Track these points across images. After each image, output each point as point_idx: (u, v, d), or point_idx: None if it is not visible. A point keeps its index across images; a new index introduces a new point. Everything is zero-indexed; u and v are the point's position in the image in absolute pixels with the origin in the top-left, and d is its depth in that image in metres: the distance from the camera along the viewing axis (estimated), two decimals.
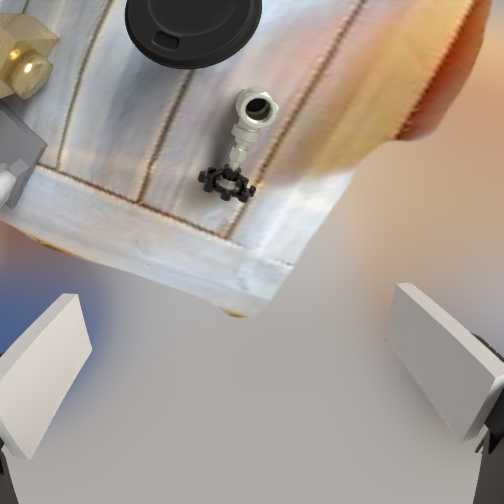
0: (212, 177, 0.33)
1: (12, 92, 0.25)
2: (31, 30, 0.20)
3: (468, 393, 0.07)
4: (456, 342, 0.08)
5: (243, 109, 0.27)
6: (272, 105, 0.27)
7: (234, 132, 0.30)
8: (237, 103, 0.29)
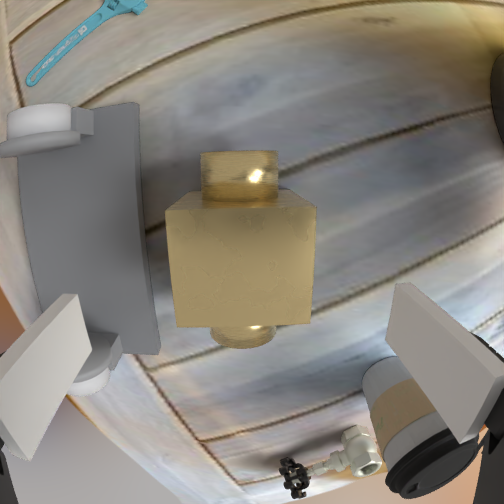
0: (293, 478, 0.31)
1: None
2: None
3: (468, 393, 0.07)
4: (456, 342, 0.08)
5: (362, 467, 0.28)
6: (376, 469, 0.28)
7: (334, 462, 0.31)
8: (355, 450, 0.30)
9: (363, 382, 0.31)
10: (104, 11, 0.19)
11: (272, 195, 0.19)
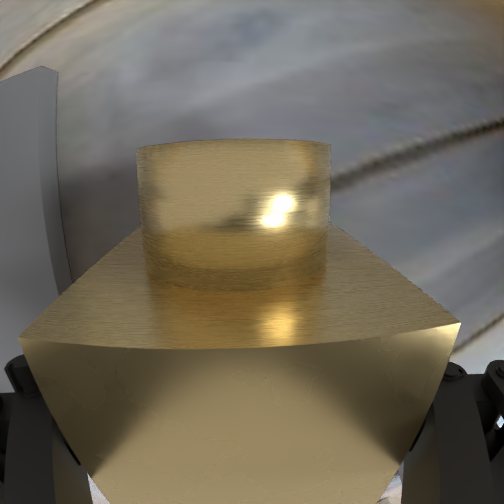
0: None
1: None
2: None
3: None
4: None
5: None
6: None
7: None
8: None
9: (401, 466, 0.19)
10: None
11: (319, 261, 0.07)
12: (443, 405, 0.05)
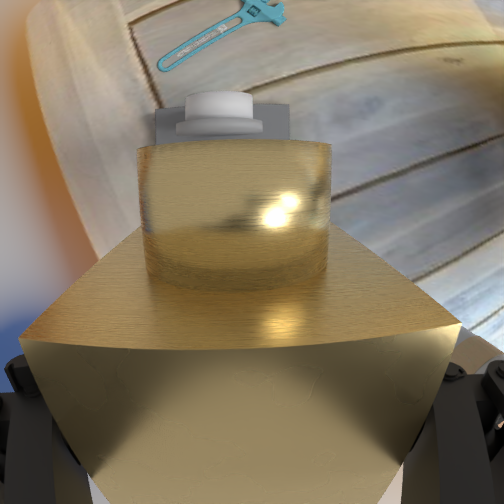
0: None
1: None
2: None
3: None
4: None
5: None
6: None
7: None
8: None
9: None
10: (245, 15, 0.24)
11: (320, 261, 0.07)
12: (443, 405, 0.05)
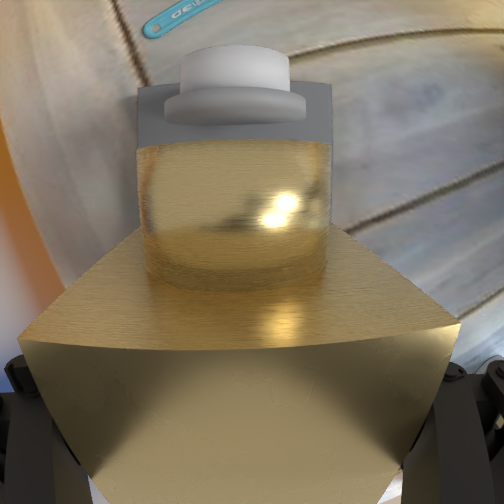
0: None
1: None
2: None
3: None
4: None
5: None
6: None
7: None
8: None
9: None
10: None
11: (320, 261, 0.07)
12: (443, 405, 0.05)
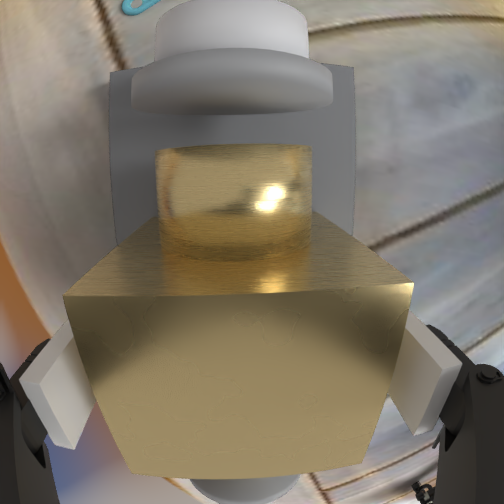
0: (430, 500, 0.23)
1: None
2: None
3: (419, 384, 0.07)
4: (407, 333, 0.08)
5: None
6: None
7: None
8: None
9: None
10: None
11: (303, 239, 0.09)
12: (481, 406, 0.05)
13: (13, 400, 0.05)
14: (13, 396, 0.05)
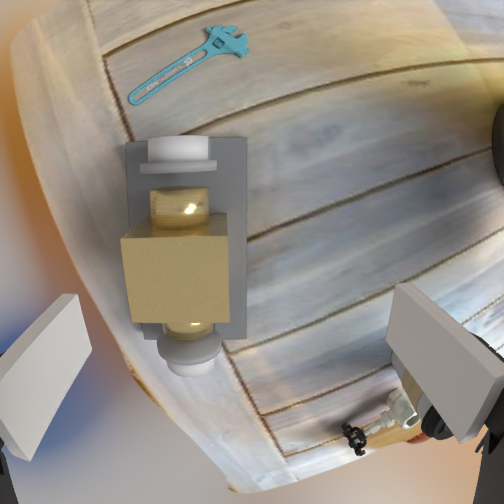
0: (355, 438, 0.40)
1: None
2: None
3: (468, 393, 0.07)
4: (456, 342, 0.08)
5: (408, 419, 0.37)
6: (418, 420, 0.37)
7: (385, 419, 0.40)
8: (400, 406, 0.39)
9: (393, 356, 0.40)
10: (209, 48, 0.27)
11: (202, 224, 0.25)
12: None
13: None
14: None
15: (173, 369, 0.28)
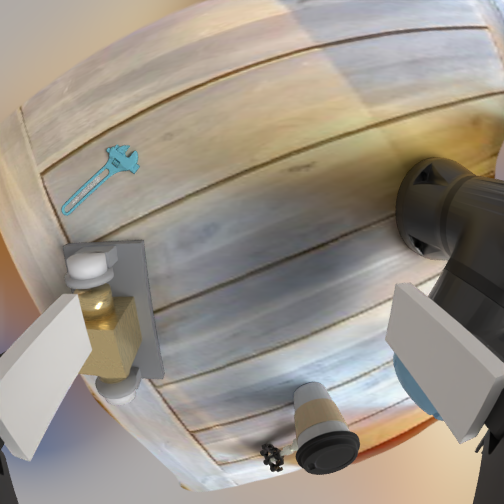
0: (270, 457, 0.49)
1: None
2: (132, 343, 0.38)
3: (468, 393, 0.07)
4: (456, 342, 0.08)
5: None
6: None
7: (296, 445, 0.49)
8: None
9: (293, 397, 0.49)
10: (110, 167, 0.36)
11: (105, 315, 0.35)
12: None
13: None
14: None
15: (106, 399, 0.38)
